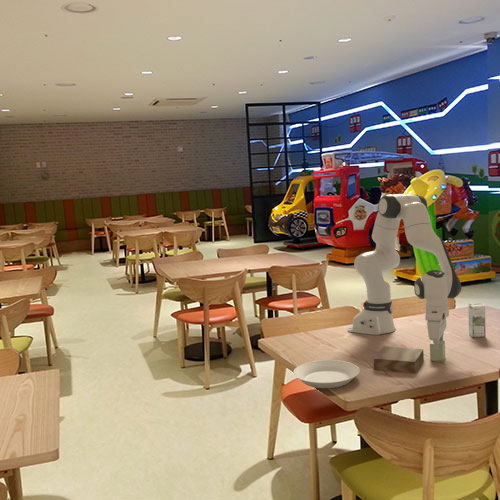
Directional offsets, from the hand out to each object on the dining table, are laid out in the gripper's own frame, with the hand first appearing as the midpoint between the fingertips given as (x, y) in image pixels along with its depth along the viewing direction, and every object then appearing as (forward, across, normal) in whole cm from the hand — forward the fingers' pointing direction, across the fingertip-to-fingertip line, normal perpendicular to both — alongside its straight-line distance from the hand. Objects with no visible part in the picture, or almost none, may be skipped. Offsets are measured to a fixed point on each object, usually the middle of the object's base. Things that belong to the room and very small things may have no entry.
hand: (438, 345), depth 231 cm
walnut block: (+6, +11, -14) cm, 18 cm away
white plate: (+6, +34, -36) cm, 50 cm away
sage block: (+6, 0, -1) cm, 6 cm away
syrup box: (+6, -36, +11) cm, 38 cm away
